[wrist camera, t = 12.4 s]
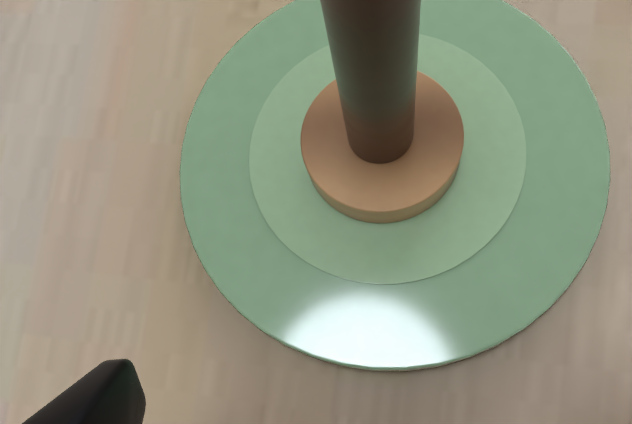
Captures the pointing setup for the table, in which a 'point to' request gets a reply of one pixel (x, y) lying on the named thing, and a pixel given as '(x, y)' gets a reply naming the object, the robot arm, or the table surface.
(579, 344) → the table surface
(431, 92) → the strawberry fork
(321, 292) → the plate
